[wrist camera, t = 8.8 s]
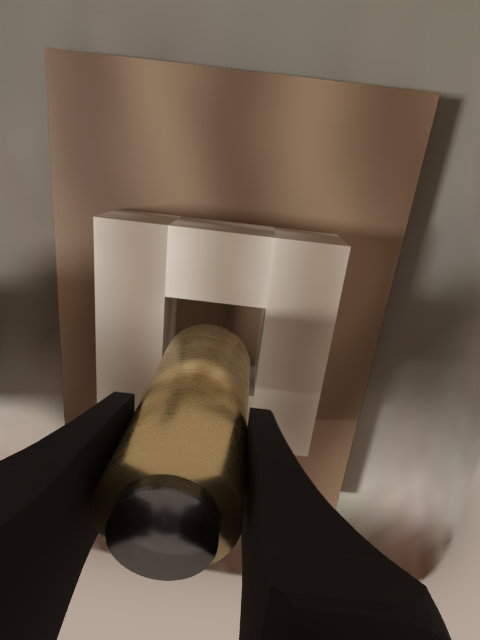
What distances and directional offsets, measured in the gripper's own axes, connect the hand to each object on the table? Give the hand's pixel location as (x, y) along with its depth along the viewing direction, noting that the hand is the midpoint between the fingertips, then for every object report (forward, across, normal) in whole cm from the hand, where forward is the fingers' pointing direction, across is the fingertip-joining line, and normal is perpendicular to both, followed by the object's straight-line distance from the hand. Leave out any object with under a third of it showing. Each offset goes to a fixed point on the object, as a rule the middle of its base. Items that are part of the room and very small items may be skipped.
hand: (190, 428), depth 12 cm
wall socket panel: (+10, 0, 0) cm, 10 cm away
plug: (+4, 0, 0) cm, 4 cm away
